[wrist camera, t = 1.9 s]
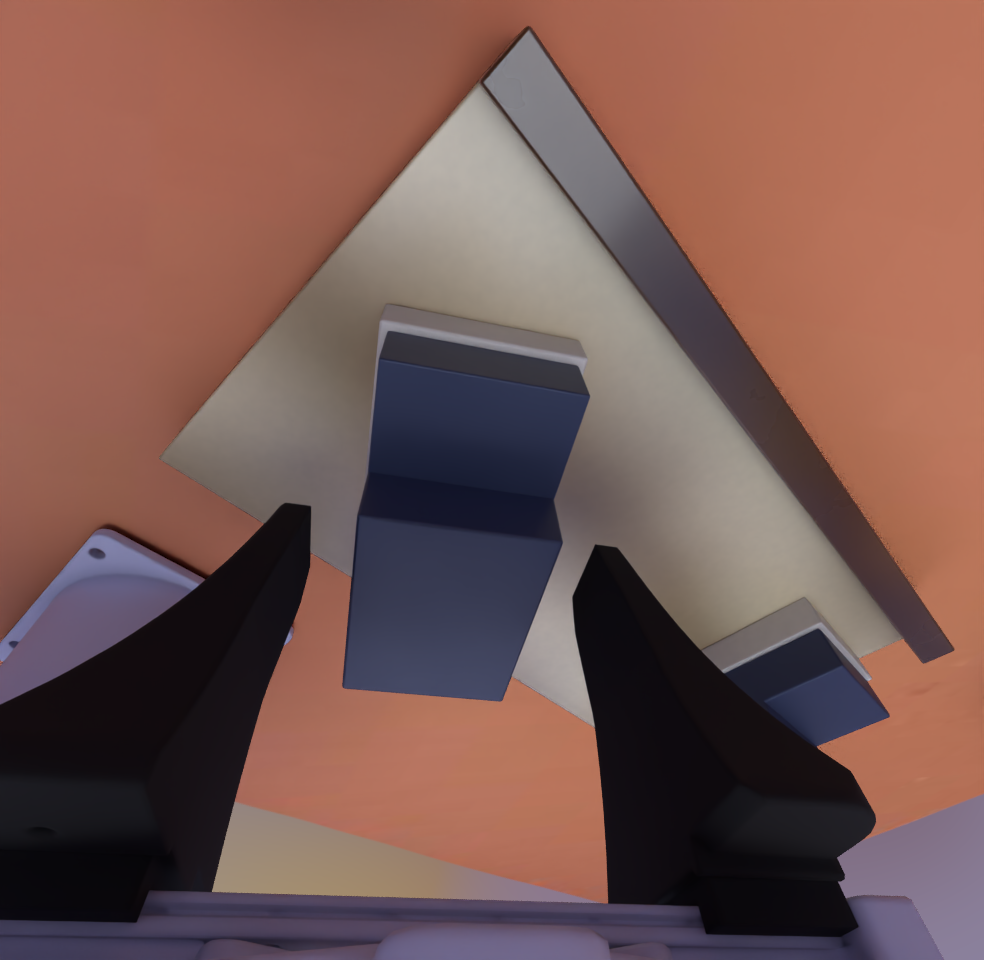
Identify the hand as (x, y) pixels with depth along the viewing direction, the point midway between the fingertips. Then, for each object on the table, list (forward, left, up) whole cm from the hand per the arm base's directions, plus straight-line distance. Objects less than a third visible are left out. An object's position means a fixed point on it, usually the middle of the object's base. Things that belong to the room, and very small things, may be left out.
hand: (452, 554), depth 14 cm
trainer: (0, 0, -3) cm, 3 cm away
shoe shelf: (+1, -6, -5) cm, 8 cm away
